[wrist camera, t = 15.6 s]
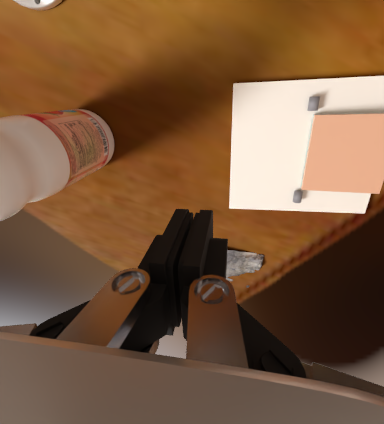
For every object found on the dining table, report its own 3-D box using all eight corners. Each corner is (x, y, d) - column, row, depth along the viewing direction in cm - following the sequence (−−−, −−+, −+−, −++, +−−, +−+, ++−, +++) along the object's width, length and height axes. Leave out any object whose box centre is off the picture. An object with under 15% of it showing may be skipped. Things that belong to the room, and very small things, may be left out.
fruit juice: (99, 178, 42) (-101, 304, 17) (53, 142, 40) (-241, 222, 15) (127, 137, 37) (-86, 225, 13) (77, 94, 36) (-277, 101, 11)
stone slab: (164, 279, 49) (164, 240, 43) (166, 272, 50) (167, 235, 45) (253, 294, 47) (264, 256, 42) (252, 287, 49) (263, 249, 43)
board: (233, 83, 32) (233, 83, 30) (404, 74, 28) (416, 73, 26) (229, 205, 40) (229, 211, 38) (361, 210, 36) (369, 217, 34)
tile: (406, 113, 27) (400, 112, 28) (315, 115, 30) (313, 114, 31) (379, 193, 32) (375, 190, 33) (301, 190, 34) (300, 187, 35)
